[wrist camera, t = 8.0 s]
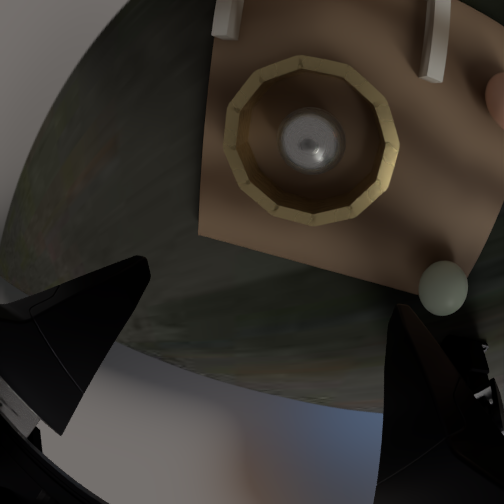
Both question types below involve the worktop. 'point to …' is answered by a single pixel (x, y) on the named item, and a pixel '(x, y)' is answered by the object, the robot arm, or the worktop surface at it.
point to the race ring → (270, 192)
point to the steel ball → (311, 140)
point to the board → (363, 132)
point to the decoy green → (443, 288)
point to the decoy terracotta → (496, 98)
